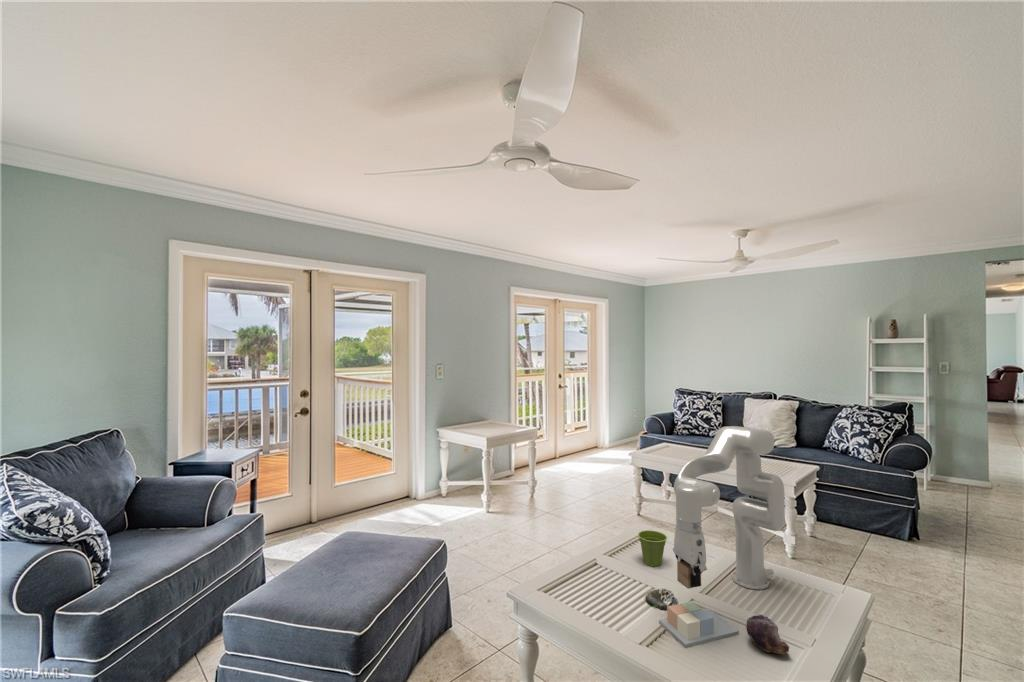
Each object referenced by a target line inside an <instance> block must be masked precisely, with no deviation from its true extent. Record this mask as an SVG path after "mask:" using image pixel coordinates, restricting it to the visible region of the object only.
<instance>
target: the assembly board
mask: <svg viewBox="0 0 1024 682" xmlns="http://www.w3.org/2000/svg"><path fill="white" fill-rule="evenodd" d="M703 610H704V611H706V612H707V613H708V614H709V615H711V616H712V617H713V618H714V633H712V634H708V635H704V636H700V637H696V638H692V639H688V640H687V639H686V638H685V637H684V636H683V635H682V634H681V633H680V632H678V631H677V630H676V629H675V628H674V627H673V626H672V625H671V624H670V623H669V622H667V617H665V618H661V619H658V624H659V625H661V627H662V628H663V629H664V630H665V631H666V632H668V633H669V634H670V635H671V636H672V637H673V638H674V639H675V640H676V641H678V643H680V644H681V645H682V646H683V647H684V648H685V649H686V648H690V647H693V646H698V645H701V644H705V643H709V642H713V641H717V640H721V639H725V638H729V637H732V636H737V635H739V633H740V632H739V631H740V630H738V629H737V628H735V627H734V626H733V625H731V623H728V622H727V621H726V620H725V619H723V618H722V617H721V616H720V615H718V614H717V613H716V612H714V611H713V610H712V609H710V608H705V609H703Z"/></svg>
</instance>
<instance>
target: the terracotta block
mask: <svg viewBox="0 0 1024 682" xmlns="http://www.w3.org/2000/svg"><path fill="white" fill-rule="evenodd" d="M680 604H681V603H677V604H676V605H672V606H667V611H666V616H667V617H666V618H667V622H669V623H670V624H671V625H672V626H673V627H674V628H675V629H676V630H677V615H679V614H684V613H688V612H689V611H688V610H686V609H685V608H684V607H683V606H682V605H680Z"/></svg>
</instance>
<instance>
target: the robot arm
mask: <svg viewBox="0 0 1024 682" xmlns="http://www.w3.org/2000/svg"><path fill="white" fill-rule="evenodd" d="M775 443H776V441H775V436H774V434H773V433H772V432H771V431H769V430H767V429H759V428H752V427H746V426H737V425H731V426H730V425H729V426H722V427H720V428H719V429H718V430H717V432H716V433H715V435H714V437H713V438H712V440H711V442H710V444H709V446H708V448H707V450H706V452H705V453H703V454H701V455H699V456H697V457H694V458H693V459H691V460H690V461H688V462H687V463H685V464H684V465H683V466H682V467H681V469H680V470H679V473H678V475H677V476H676V478H675V480H674V483H673V492H674V495H675V516H676V517H675V521H676V522H675V524H676V525H675V528H674V529H675V531H674V537H673V538H674V539H673V541H674V543H673V545H674V546H673V548H672V552H673V554H674V555H675V558H676V561H677V562H681V561H686V562H688V563H689V564H690V565H691V571H692V574H691V587H692V588H691V589H693V588H694V589H695V588H698V586H699V587H701V586H700V574H701V575H702V574H703V572H705V571H707V570H708V568H707V566H706V563H707V552H706V551H707V550H706V541H705V536H704V532H703V531H702V530H703V528H702V508H703V507H713V506H715V505H716V504H717V503H718V502H719V500H720V498H721V490H720V488H719V487H718V485H716V483H713V482H710V481H706V480H701V479H698V477H700V476H703V475H708V474H714V473H720V472H725V471H727V470H729V468H730V466H731V464H732V462H733V460H734V459H735V461H736V462H735V463H736V466H735V467H736V468H735V469H736V471H735V472H736V476H735V477H736V488H737V490H738V491H739V492H740V493H741V494H744V495H747V496H751V497H754V498H751V497H746V496H739V497H737V498H735V499H734V500H733V502H732V514H733V518H734V524H735V562H736V563H735V565H736V567H735V571H733V572H732V573H731V579H732V581H733V582H735V584H737V585H739V586H740V587H743V588H747V589H750V590H751V589H752V590H765V589H767V588H768V587H769V586H770V581H769V580H768V578H767V577H768V576H771V575H774V570H773V569H772V568H767V569H766V568H765V554H764V553H765V548H764V547H765V545H764V544H765V543H764V542H765V540H764V535H763V533H762V529H765V530H769V531H773V532H780V531H781V530H783V528H784V526H785V519H786V511H785V510H786V509H785V508H786V504H785V503H786V502H785V498H786V497H785V485H784V481H783V480H782V478H781V477H780V476H779V475H776V474H773V473H767V472H763V471H762V459H761V458H762V457H761V455H768V454H770V453H771V452H773V449H774V447H775V445H776V444H775ZM756 498H758V499H756ZM760 499H763V500H766V501H763V500H760ZM760 528H762V529H760ZM677 562H676V563H677ZM695 566H697V569H696V570H695Z"/></svg>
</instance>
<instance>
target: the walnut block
mask: <svg viewBox="0 0 1024 682" xmlns="http://www.w3.org/2000/svg"><path fill="white" fill-rule="evenodd" d="M676 566H677V567H676V568H677V570H676V571H677V572H676V573H677V574H676V575H677V582H678V583H680V584H681V585H682V586H684V587H685V588H687V589H693V588H692V587H691V574H692V571H691V565H690V564H689V563H688V562H686V561H681V562H676ZM696 569H697V566H695V570H696ZM698 587H702V574H700V586H698ZM698 587H697V588H698Z"/></svg>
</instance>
